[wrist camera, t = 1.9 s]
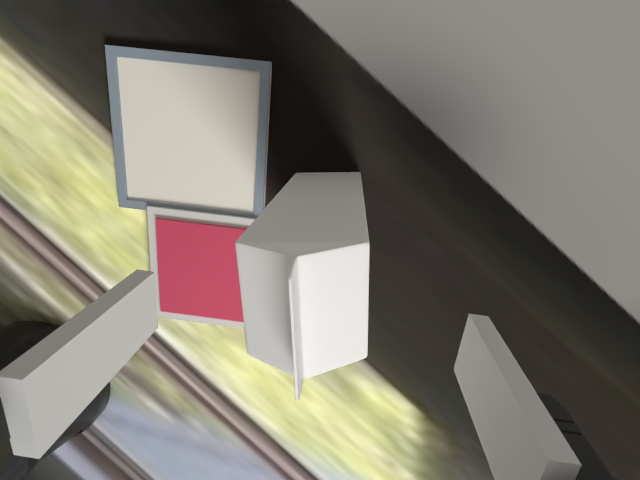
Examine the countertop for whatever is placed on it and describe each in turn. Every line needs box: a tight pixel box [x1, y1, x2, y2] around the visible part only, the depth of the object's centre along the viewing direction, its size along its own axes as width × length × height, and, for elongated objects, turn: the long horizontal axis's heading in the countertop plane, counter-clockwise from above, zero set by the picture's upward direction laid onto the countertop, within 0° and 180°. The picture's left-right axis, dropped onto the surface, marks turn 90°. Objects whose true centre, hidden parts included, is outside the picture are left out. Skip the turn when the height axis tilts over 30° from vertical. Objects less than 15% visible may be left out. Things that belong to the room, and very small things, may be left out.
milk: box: [235, 172, 369, 401], centre depth 24 cm, size 6×6×22 cm
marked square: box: [105, 45, 272, 218], centre depth 33 cm, size 14×14×1 cm
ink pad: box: [147, 205, 256, 328], centre depth 37 cm, size 12×12×2 cm
